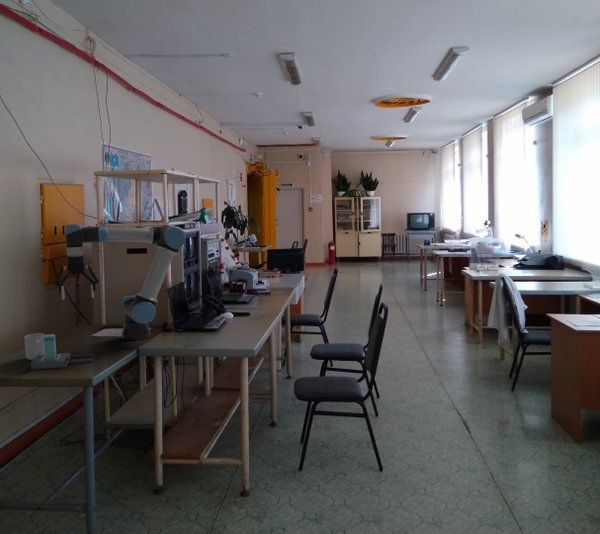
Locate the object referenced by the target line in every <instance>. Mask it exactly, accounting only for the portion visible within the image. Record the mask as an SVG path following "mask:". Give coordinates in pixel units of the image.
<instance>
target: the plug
mask: <svg viewBox="0 0 600 534" xmlns="http://www.w3.org/2000/svg"><path fill="white" fill-rule="evenodd" d="M56 345H57V344H56V334H53V333H51V334H45V336H44V348H45V360H46V359H56V358H57V355H56V354H57V346H56Z"/></svg>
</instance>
